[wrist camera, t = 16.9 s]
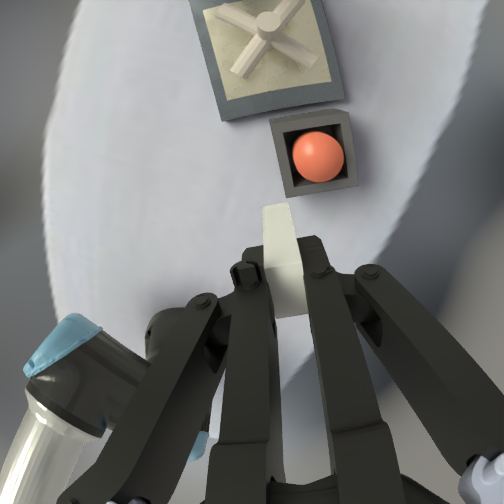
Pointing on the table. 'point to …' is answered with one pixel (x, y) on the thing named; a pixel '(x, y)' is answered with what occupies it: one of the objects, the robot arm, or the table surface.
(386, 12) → the table surface
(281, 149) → the button housing
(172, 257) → the table surface
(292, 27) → the press frame
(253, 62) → the pipe connector
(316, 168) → the press button
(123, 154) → the table surface
